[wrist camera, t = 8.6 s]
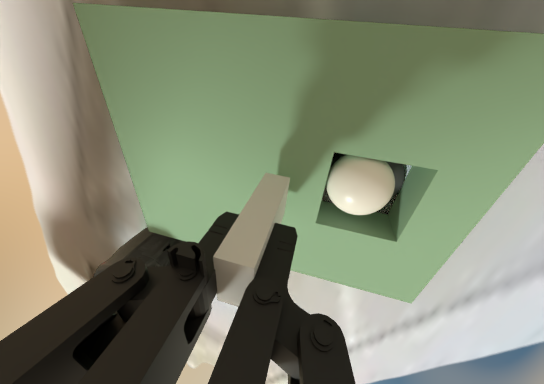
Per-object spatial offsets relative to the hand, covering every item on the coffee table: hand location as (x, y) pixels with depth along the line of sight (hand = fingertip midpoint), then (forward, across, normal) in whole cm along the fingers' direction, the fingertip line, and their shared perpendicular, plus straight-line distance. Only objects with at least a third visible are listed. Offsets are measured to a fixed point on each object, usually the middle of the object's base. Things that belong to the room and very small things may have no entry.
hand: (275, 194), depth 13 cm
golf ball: (+2, +5, +1) cm, 5 cm away
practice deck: (+4, 0, 0) cm, 4 cm away
